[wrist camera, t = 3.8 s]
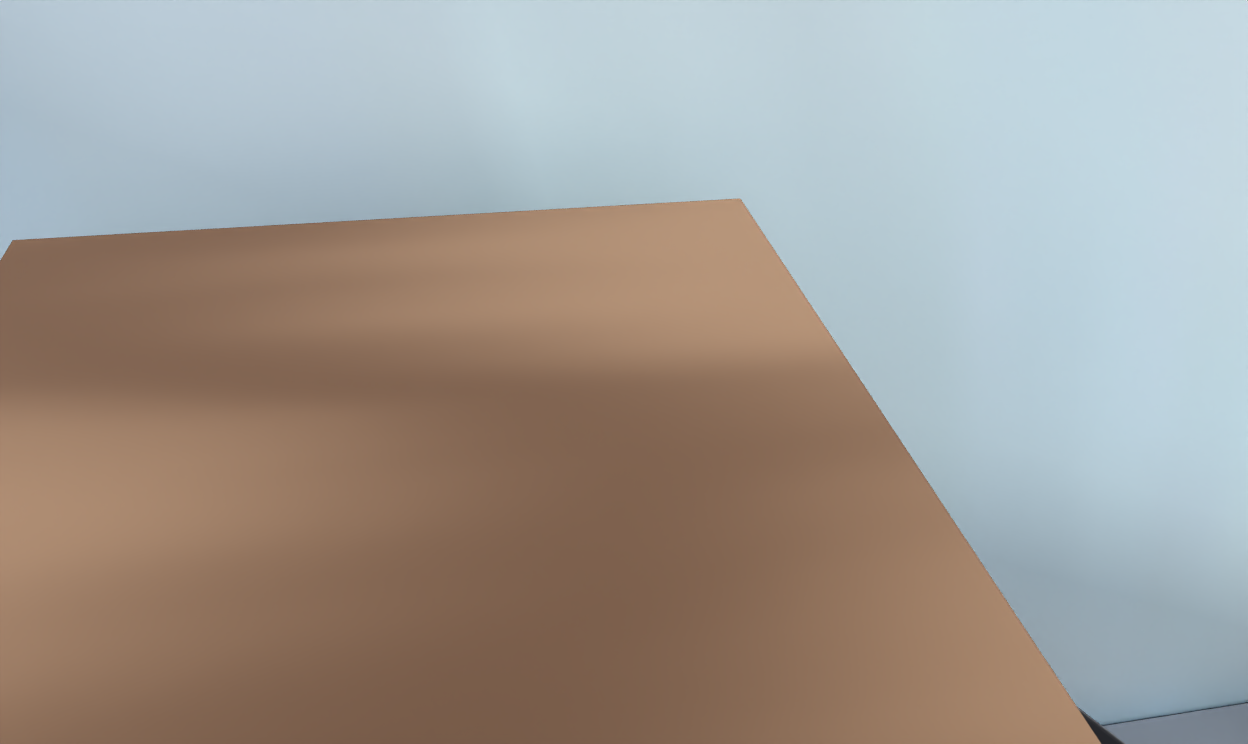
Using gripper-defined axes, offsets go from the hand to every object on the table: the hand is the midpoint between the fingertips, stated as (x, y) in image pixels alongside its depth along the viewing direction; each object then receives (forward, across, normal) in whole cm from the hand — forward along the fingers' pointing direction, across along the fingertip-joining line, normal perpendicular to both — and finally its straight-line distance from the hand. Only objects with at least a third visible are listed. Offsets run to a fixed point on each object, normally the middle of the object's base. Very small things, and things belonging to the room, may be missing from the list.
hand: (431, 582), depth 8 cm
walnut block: (+1, 0, 0) cm, 1 cm away
